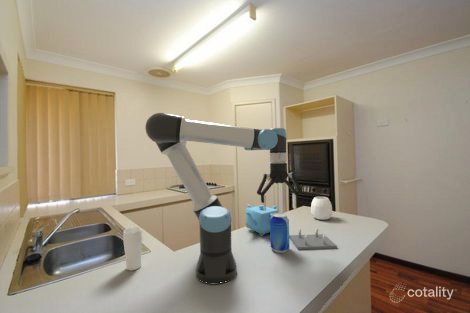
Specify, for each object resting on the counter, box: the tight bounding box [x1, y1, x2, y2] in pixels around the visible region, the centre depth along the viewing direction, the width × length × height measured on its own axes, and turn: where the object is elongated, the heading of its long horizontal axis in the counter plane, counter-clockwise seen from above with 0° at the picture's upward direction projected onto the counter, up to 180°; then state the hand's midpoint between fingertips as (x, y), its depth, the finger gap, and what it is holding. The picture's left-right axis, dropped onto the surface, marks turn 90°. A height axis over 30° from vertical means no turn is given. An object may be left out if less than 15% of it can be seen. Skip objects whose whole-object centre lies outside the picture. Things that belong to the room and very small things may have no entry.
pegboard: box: [289, 228, 338, 251], centre depth 106 cm, size 18×14×5 cm
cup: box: [310, 196, 333, 221], centre depth 143 cm, size 13×13×14 cm
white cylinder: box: [122, 226, 143, 271], centre depth 86 cm, size 7×7×15 cm
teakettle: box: [243, 203, 279, 237], centre depth 122 cm, size 19×19×15 cm
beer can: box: [269, 212, 290, 254], centre depth 99 cm, size 8×8×16 cm
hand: (279, 209), depth 99 cm, fingers open, 13 cm apart
